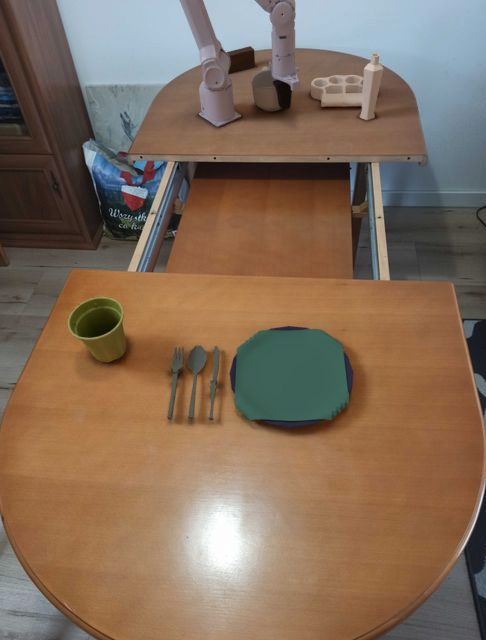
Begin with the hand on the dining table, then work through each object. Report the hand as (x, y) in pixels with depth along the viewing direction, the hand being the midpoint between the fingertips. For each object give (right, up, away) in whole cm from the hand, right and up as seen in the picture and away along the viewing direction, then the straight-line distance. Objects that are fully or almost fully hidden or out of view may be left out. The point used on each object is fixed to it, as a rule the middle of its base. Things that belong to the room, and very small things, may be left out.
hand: (284, 107), depth 133 cm
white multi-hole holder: (+17, +5, +5) cm, 19 cm away
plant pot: (-36, -65, -44) cm, 86 cm away
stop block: (-12, +23, +22) cm, 33 cm away
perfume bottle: (+21, -4, -2) cm, 22 cm away
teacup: (-3, +4, +7) cm, 8 cm away
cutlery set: (-10, -70, -50) cm, 87 cm away
